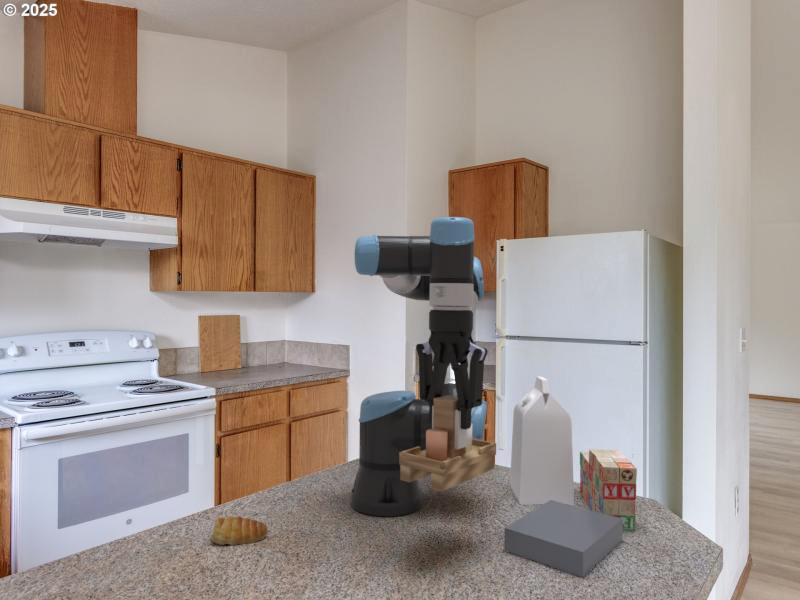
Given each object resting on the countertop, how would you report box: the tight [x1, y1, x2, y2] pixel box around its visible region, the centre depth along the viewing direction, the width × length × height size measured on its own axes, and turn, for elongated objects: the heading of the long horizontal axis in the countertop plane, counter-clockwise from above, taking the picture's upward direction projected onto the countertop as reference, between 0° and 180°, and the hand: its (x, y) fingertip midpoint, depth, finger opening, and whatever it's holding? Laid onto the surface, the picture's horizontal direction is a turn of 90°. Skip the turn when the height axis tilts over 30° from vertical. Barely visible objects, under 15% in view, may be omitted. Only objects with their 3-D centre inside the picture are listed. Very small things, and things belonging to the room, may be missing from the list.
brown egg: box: [426, 429, 448, 461], centre depth 94 cm, size 4×4×4 cm
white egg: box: [466, 423, 472, 452], centre depth 100 cm, size 4×4×4 cm
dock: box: [503, 500, 624, 578], centre depth 100 cm, size 14×18×4 cm
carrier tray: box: [399, 395, 497, 492], centre depth 97 cm, size 16×9×13 cm, turn 140°
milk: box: [509, 375, 575, 506], centre depth 126 cm, size 12×12×26 cm
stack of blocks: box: [579, 448, 638, 532], centre depth 118 cm, size 21×6×12 cm, turn 174°
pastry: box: [211, 515, 268, 546], centre depth 102 cm, size 9×7×4 cm
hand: (449, 444), depth 97 cm, fingers closed on carrier tray, 4 cm apart
